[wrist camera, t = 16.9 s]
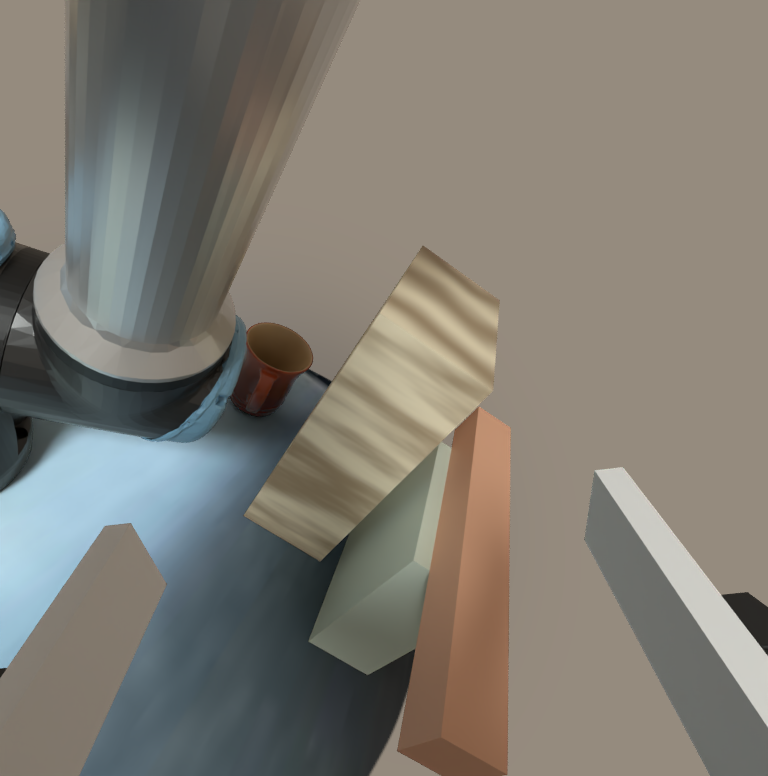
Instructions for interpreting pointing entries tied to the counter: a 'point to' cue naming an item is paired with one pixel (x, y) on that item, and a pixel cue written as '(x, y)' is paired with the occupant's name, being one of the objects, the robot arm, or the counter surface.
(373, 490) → the stand
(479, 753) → the batten
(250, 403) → the mug
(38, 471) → the counter surface
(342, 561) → the post low
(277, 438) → the counter surface
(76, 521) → the counter surface
